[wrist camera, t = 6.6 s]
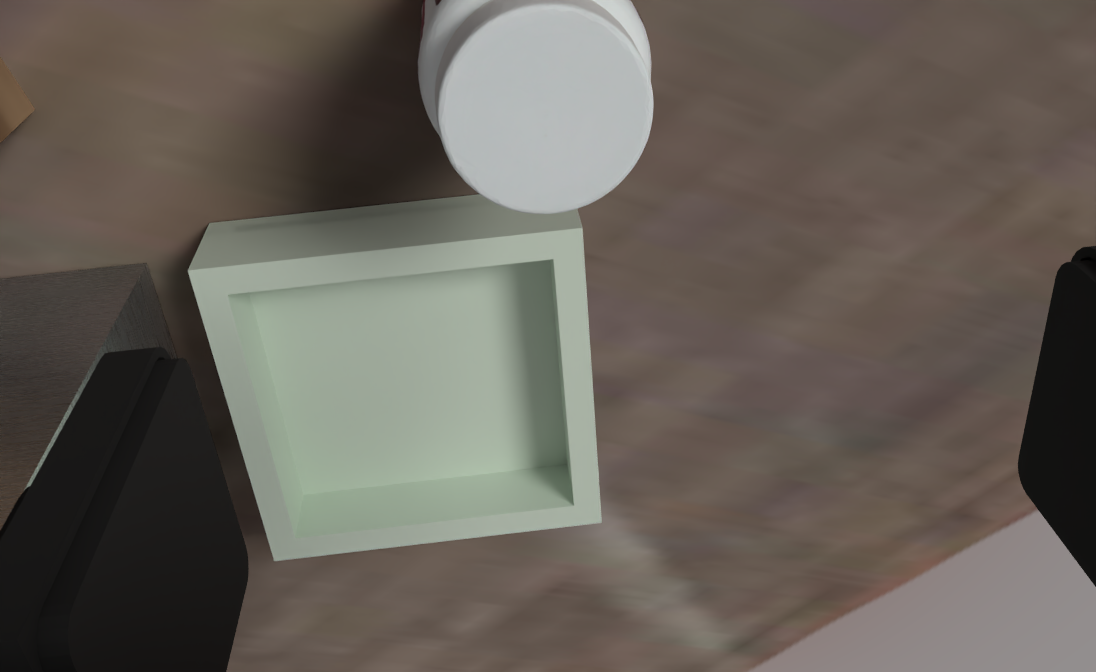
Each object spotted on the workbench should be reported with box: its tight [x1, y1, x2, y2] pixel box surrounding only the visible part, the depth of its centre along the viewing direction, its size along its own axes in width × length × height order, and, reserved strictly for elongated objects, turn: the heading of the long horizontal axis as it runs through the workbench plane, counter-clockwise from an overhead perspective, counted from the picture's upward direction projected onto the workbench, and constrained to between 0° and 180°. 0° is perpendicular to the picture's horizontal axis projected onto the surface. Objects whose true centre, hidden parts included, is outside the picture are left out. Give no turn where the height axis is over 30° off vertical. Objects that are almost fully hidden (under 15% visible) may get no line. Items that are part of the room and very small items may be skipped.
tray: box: [188, 194, 602, 561], centre depth 30 cm, size 10×10×3 cm
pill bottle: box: [418, 0, 653, 214], centre depth 22 cm, size 5×5×8 cm
